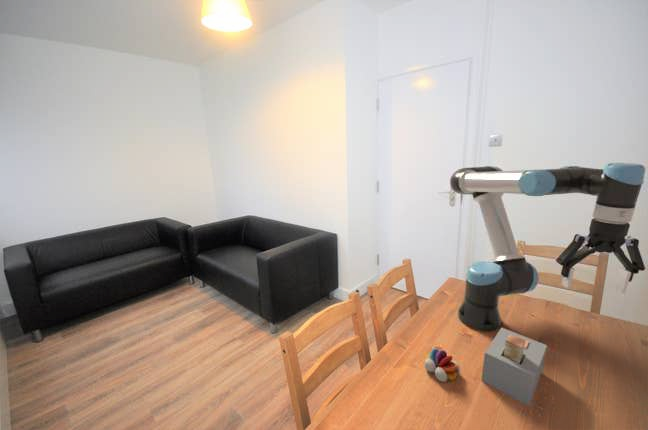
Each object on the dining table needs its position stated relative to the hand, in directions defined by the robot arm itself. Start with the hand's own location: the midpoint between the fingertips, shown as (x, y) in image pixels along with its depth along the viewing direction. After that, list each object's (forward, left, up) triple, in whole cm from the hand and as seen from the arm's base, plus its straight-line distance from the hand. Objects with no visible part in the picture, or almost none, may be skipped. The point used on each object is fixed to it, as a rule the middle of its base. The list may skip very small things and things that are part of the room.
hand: (592, 288), depth 82 cm
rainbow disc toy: (-29, -33, -27) cm, 51 cm away
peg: (-13, -23, -22) cm, 34 cm away
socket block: (-13, -20, -27) cm, 36 cm away
